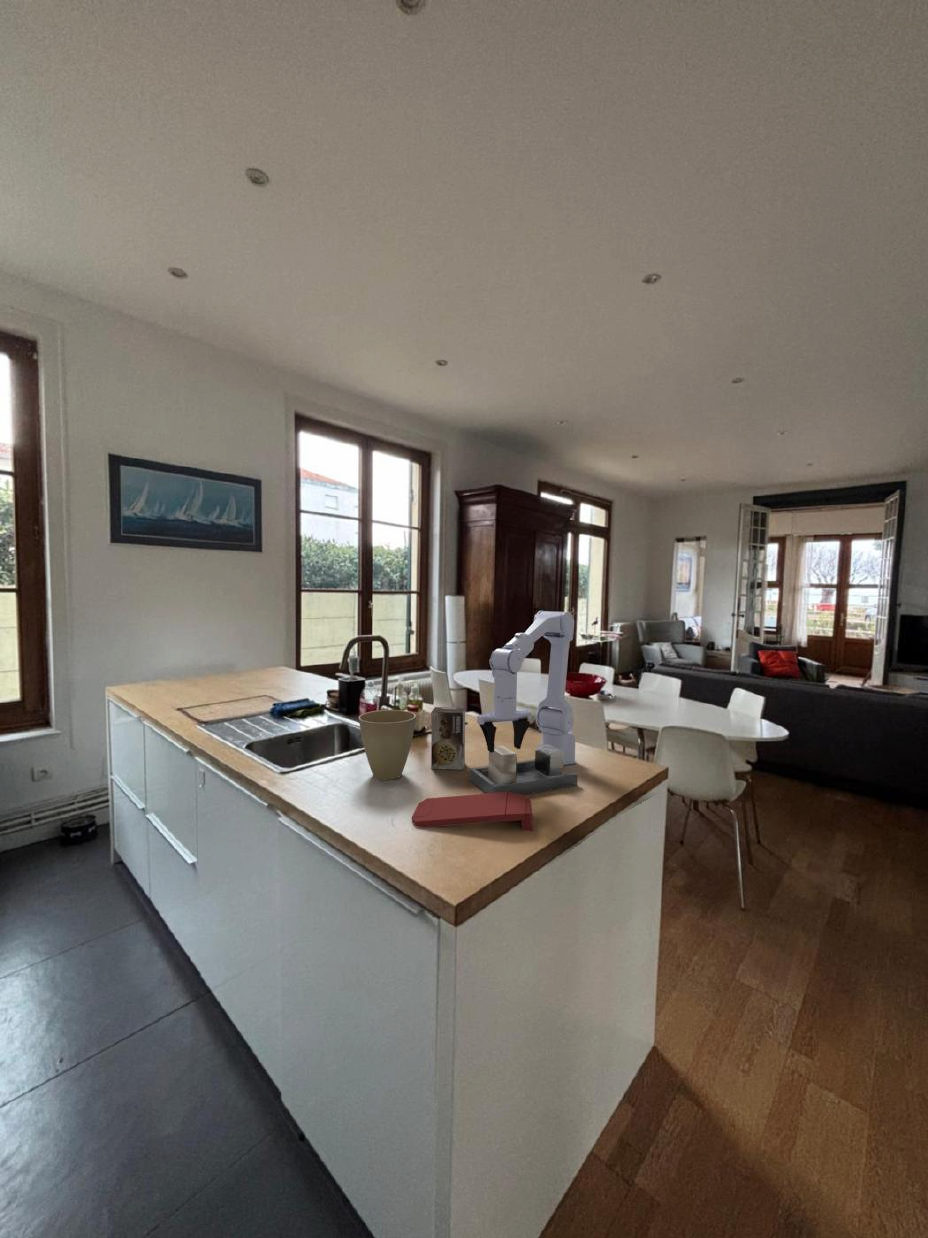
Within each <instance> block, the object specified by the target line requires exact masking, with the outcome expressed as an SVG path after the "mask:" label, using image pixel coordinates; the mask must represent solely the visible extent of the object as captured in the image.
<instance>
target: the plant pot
mask: <svg viewBox="0 0 928 1238" xmlns="http://www.w3.org/2000/svg"><path fill="white" fill-rule="evenodd" d="M416 717H417V715H416V713H414V712H412V711H408V710H399V709H386V710H385V709H384V710H383V709H382V710H381V709H380V710H374V711H373V710H372V711H368V712H364V713H362V714H360V715H359V716H358V722H359V728H360V729H359V730H360V735H361V740H362V744H363V748H364V752H365V755H366V759H367V763H368V766H369V768H370V770H371V774H372V775H373V778H375V779H377V780H382V781H388V780H389V781H390V780H396V779H398V778H400V777H402V774H403V772H404V769H405V767H406V764H407V760H408V758H409V757H408V756H409V754H410V751H411V746H412V742H413V736H414V732H415V731H414V730H415V726H416V724H415V723H416V719H417V718H416Z"/></svg>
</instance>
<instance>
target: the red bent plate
mask: <svg viewBox="0 0 928 1238" xmlns="http://www.w3.org/2000/svg"><path fill="white" fill-rule="evenodd" d="M413 811H414V812H413V813H412V815H411V821H412V823H413V825H414V826H415V827H416V826H418V827H417V828H431V827H444V826H458V825H471V824H472V825H473V824H483V823H495V822H496V823H498V822H510V821H511V822H512V821H521V828H522V831H524V832H525V831H526V832H527V831H528V832H533V809H532V803H531V797H527V794H525V795H521V794H517V793H512V792H508V793H507V792H498V793H477V794H465V795H452V796H440V797H430V798H426V799H424V800H422V801H421V802H418V804H417V806H416V808H415V809H414V810H413Z"/></svg>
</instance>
